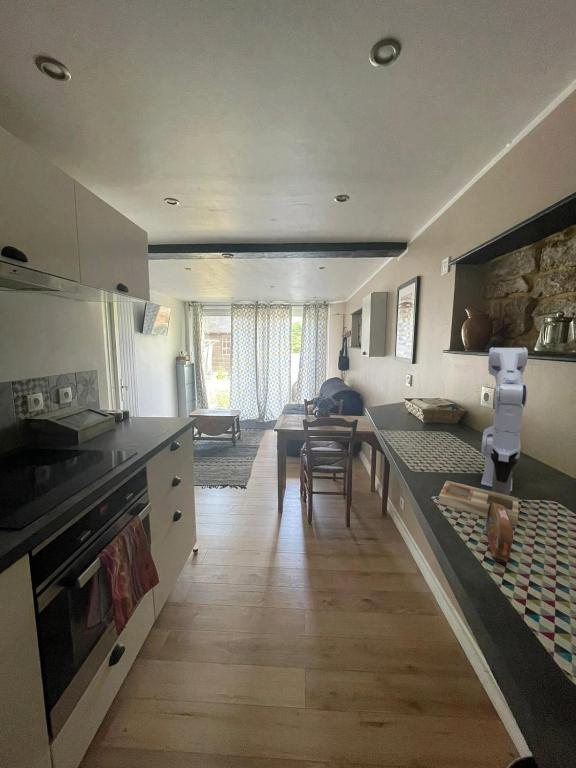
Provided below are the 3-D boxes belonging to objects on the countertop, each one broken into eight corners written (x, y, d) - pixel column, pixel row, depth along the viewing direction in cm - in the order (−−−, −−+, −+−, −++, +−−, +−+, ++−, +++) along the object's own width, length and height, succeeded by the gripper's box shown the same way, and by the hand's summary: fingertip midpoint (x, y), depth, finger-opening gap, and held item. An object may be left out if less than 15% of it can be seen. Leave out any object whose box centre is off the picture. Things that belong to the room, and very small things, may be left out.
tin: (485, 525, 76) (487, 494, 75) (500, 529, 75) (503, 497, 73) (493, 565, 63) (497, 529, 62) (511, 571, 61) (516, 533, 60)
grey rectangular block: (492, 485, 84) (494, 461, 83) (510, 489, 82) (512, 464, 81) (491, 490, 81) (493, 466, 80) (509, 495, 79) (512, 470, 78)
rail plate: (446, 487, 95) (446, 479, 95) (517, 506, 84) (518, 497, 84) (438, 503, 86) (439, 494, 86) (517, 526, 76) (518, 516, 75)
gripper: (490, 420, 87) (486, 465, 89) (486, 433, 76) (481, 484, 78) (521, 424, 83) (516, 471, 85) (521, 439, 71) (515, 492, 73)
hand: (502, 478), depth 81 cm, fingers closed on grey rectangular block, 4 cm apart
